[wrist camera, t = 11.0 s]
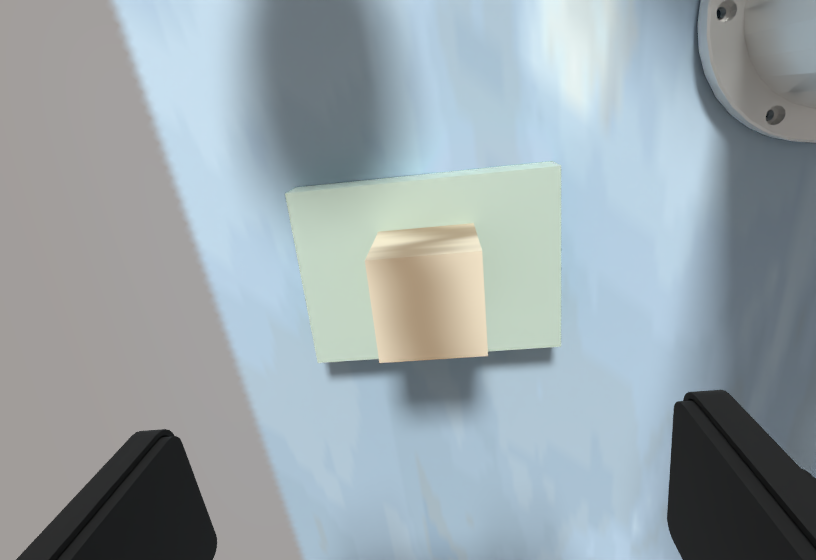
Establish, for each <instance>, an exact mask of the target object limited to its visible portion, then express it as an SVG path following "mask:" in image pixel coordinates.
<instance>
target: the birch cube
mask: <svg viewBox="0 0 816 560" xmlns="http://www.w3.org/2000/svg"><path fill="white" fill-rule="evenodd" d="M365 266H366V273H367V280H368V287H369V294H370V301H371V308H372V315H373V322H374V329H375V336H376V343H377V350H378V357H379V363H388V362H404V361H419V360H434V359H450V358H465V357H481V356H488V345H487V327H486V309H485V291H484V273H483V255H482V248H481V245H480V242H479V239H478V235H477V232H476V229H475V226H474V223H469V224H458V225H447V226H435V227H424V228H413V229H402V230H391V231H380V232H378V233H377V235H376V238H375V240H374V242H373V244H372V246H371V248H370V250H369V253H368V255H367V257H366V259H365Z"/></svg>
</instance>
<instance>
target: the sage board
mask: <svg viewBox="0 0 816 560" xmlns="http://www.w3.org/2000/svg"><path fill="white" fill-rule="evenodd" d="M285 197H286V202H287V207H288V212H289V217H290V223H291V228H292V233H293V238H294V243H295V248H296V253H297V258H298V264H299V269H300V274H301V279H302V284H303V289H304V294H305V300H306V305H307V310H308V315H309V320H310V325H311V330H312V335H313V341H314V346H315V351H316V356H317V361H318V363H325V362H340V361H355V360H369V359H379V357H378V350H377V343H376V336H375V329H374V322H373V315H372V308H371V301H370V294H369V287H368V280H367V273H366V266H365V259H366V257H367V255H368V253H369V250H370V248H371V246H372V244H373V242H374V240H375V238H376V235H377V233H378V232H380V231H391V230H402V229H413V228H424V227H435V226H447V225H458V224H469V223H474V226H475V229H476V232H477V235H478V239H479V242H480V245H481V248H482V255H483V273H484V291H485V309H486V327H487V345H488V351H503V350H518V349H533V348H547V347H561V165H559V164H557V163H554V162H552V161H549V162H539V163H530V164H520V165H510V166H500V167H490V168H480V169H471V170H461V171H451V172H441V173H431V174H422V175H412V176H402V177H392V178H382V179H373V180H363V181H353V182H343V183H333V184H323V185H314V186H304V187H295V188H294V189H292V190H290V191H288V192H287V193H285Z"/></svg>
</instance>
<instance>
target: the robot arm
mask: <svg viewBox="0 0 816 560" xmlns="http://www.w3.org/2000/svg"><path fill="white" fill-rule="evenodd" d="M717 9H719V10H720V12H721V15H720V18H719V19H718V18H717V14H716V12H717ZM698 44H699V54H700V58H701V62H702V66H703V70H704V74H705V77H706V79H707V81H708V83H709V85H710V87H711V89H712V91H713V93H714V95H715V97H716V98H717V99H718V100H719V102H720V103H721V104H722V105H723V106H724V108H725V109H726V110H727V111H728V112H729V114H730V115H732V116H733V117H734V118H736V119H737V120H738V121H740V122H741V123H742V124H744V125H745V126H746V127H748V128H750V129H752V130H754V131H757V132H759V133H761V134H764V135H766V136H768V137H773V138H778V139H783V140H788V141H796V142H811V143H816V0H701V1H700V9H699V17H698ZM767 112H768V116H767V118H766V114H767ZM667 521H668V527H669V531H670V534H671V537H672V539H673V541H674V543H675V545H676V547H677V549H678V551H679V553H680V555H681V557H682V559H683V560H816V478H814V477H813V476H812V475H811V474H810V473H808V472H807V471H806V470H803V469H801V468H800V467H799V466H798V465H797V464H796V463H795V462H794V461H793V460H792V459H791V458H790V457H789V456H788V455H787V454H786V453H785V451H784V450H783V449H782V448H781V447H780V446H779V445H778V444H777V443H776V442H775V441H774V440H773V439H772V438H771V437H770V436H769V435H768V434H767V433H766V432H765V431H764V430H763V429H762V427H761V426H760V425H759V424H758V423H757V422H756V421H755V420H754V419H753V418H752V417H751V416H750V415H749V414H748V413H747V412H746V411H745V410H744V409H743V408H742V407H741V406H740V405H739V403H738V402H737V401H736V400H735V399H734V398H733V397H732V396H731V395H730V394H729V393H727V392H726V391H724V390H712V391H698V392H688V393H686V395H685V396H684V400H683V401H678V402H676V403H675V405H674V415H673V431H672V448H671V464H670V480H669V496H668V512H667ZM216 548H217V537H216V534H215V531H214V528H213V526H212V523H211V520H210V517H209V515H208V512H207V509H206V507H205V504H204V501H203V498H202V496H201V493H200V490H199V487H198V485H197V482H196V479H195V477H194V474H193V471H192V468H191V466H190V463H189V460H188V458H187V455H186V452H185V450H184V447H183V444H182V442H181V440H180V438H178V437H176V436H174V434H173V433H172V432H171V431H170V430H166V429H163V430H149V431H139V432H136V433H135V434H134V435H132V436H131V437H130V438H129V440H128V441H127V442H126V443H125V444H124V445H123V446H122V447H121V448H120V449H119V450H118V451H117V452H116V453H115V454H114V456H113V457H112V458H111V459H110V460H109V461H108V462H107V463H106V464H105V465H104V466H103V467H102V468H101V470H99V472H98V473H97V474H96V475H95V476H94V477H93V478H92V479H91V480H90V481H89V482H88V483H87V484H86V485H85V487H84V488H83V489H82V490H81V491H80V492H79V493H78V494H77V495H76V496H75V497H74V498H73V499H72V500H71V502H70V503H69V504H68V505H67V506H66V507H65V508H64V509H63V510H62V511H61V512H60V513H59V514H58V515H57V517H56V518H55V519H54V520H53V521H52V522H51V523H50V524H49V525H48V526H47V527H46V528H45V529H44V530H43V531H42V533H41V534H40V535H39V536H38V537H37V538H36V539H35V540H34V541H33V542H32V543H31V544H30V545H29V546H28V548H27V549H26V550H25V551H24V552H23V553H22V554H21V555H20V556H19V557H18V558H17V559H16V560H213V558H214V555H215V552H216Z"/></svg>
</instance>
